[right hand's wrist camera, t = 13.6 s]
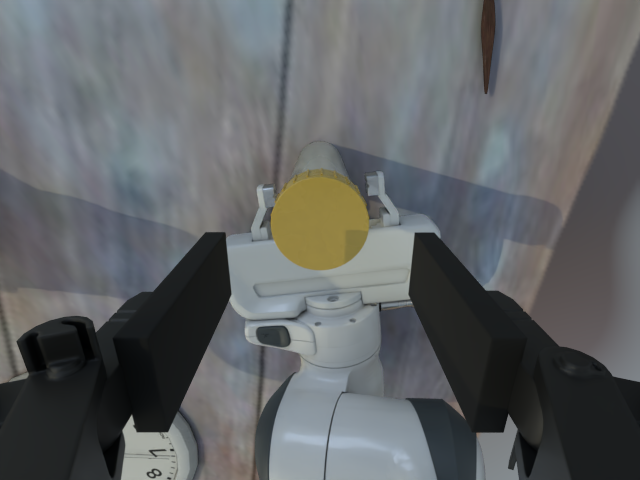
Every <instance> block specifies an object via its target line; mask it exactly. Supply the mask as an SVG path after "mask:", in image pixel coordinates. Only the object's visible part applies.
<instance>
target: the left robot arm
mask: <svg viewBox="0 0 640 480" xmlns="http://www.w3.org/2000/svg"><path fill="white" fill-rule="evenodd" d="M365 180H366V184H365V188H366V193H367V195H368V196H374V195H378V197H379V198H380V200H381V201H382V203H383V204H384V206H385V207H386V208H385V207H382V208H380V209H379V211H380V218H378V219H369V232H368V236H367V239H366V242H365V244H364V246H363V247H362V249H361V250H360V252H359V253H358V254H357V255H356V256H355V257H354V258H353V259H352V260H350V261H349V262H347V263H346V264H344V265H342V266H340V267H337V268H334V269H329V270H310V269H306V268H303V267H300V266H298V265H296V264H294V263H293V262H291V261H290V260H288V259H287V258H286V257H285V256H284V255H283V254H282V253H281V252H280V250H279V249H278V247H277V246H276V244H275V241H274V239H273V236H272V231H271V227H270V222H269V221H268V220H267V221H264V222H263V219H264V217H265V214H266V212H267V209H268V208H269V207H274V206H275V203H274V202H275V200H276V197H277V194H276V193H275V192H276V185H275V183H274V184H263V185H258V187H257V196H258V202H259V209H258V211H257V214H256V217H255V219H254V222H253V224H252V227H251V232H252V233H243V234H234V235H230V236H228V237H227V238H226V244H227V254H228V263H229V273H230V283H231V292H232V295H231V297H230V299H229V301H230V303H231V305H232V307H233V308H234V310H235V311H236V312H237V313H238V314H239V315H240V316H242V317H244V318H246V322H245V336H246V339H247V341H248V342H250V343H252V344H256V345H262V346H268V347H274V348H279V349H284V350H288V351H292V352H296V353H299V355H300V357H301V367H300V370H299V372H298V373H296V372H295V373H293V374H292V375H291V376H290V377H289V378H288V379H287V380H286V381H285V382H284V383H283V384H282V385H281V386H280V387H279V389H278V390H277V391H276V392H275V393H274V394H273V395H272V397H271V398H270V399H269V401H268V402H267V404H266V406H265V408H264V410H263V412H262V414H261V417H260V419H259V422H258V426H257V430H256V437H255V460H256V466H257V471H258V475H259V479H260V480H485V466H484V459H483V454H482V450H481V446H480V444H479V441H478V439H477V437H476V432H471V429H470V427H469V425H468V423H467V421H466V420H465V419H464V418H463V417H462V416H461V415H460V414H459V413H458V412H457V411H456V410H455V409H454V408H452V407H451V406H450V405H449V404H448V403H446V402H445V401H444V400H443V399H423V398H406V399H397V398H388V397H384V373H383V367H382V364H381V361H380V359H379V351H380V348H381V326H380V313H379V312H380V311H383V310H393V309H398V308H404V307H414V306H413V304H412V301H411V299H410V297H409V295H408V292H409V283H410V273H411V263H412V254H413V244H414V234H415V232H434V233H435V234H436V235H437V236H438V237H439V238H440V239H441V234H440V230H439V228H438V227H437V225H436V224H435V223H434V222H433V221H432V220H431V219H430V218H428V217H427V216H426V215H424V214H414V215H405V216H399V212H398V210H397V209H396V207H395V206H394V205H393V203H392V202H391V200H390V199H389V197H388V196H387V194H386V193H385V183H384V174H383V172H382V171H375V172H367V173H365Z"/></svg>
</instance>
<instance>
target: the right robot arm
mask: <svg viewBox="0 0 640 480" xmlns="http://www.w3.org/2000/svg"><path fill="white" fill-rule="evenodd" d="M231 295H232V292H231V283H230V273H229V263H228V254H227V244H226V234H225V232H206V233H205V234H204V235H203V236H202V237H201V238H200V239H199V241H198V242H197V243H196V244H195V245H194V246H193V247H192V248H191V250H190V251H189V252H188V253H187V254H186V255H185V256H184V258H183V259H182V260H181V261H180V262H179V263H178V264H177V265H176V267H175V268H174V269H173V270H172V271H171V272H170V273H169V275H168V276H167V277H166V278H165V279H164V280H163V281H162V282H161V284H160V285H159V286H158V287H157V288H156V289H155V290H154V292H141V293H140V294H138V295H136V296H134V297H133V298H131V299H129V300H127V301H126V302H125V303H124V304H123V305H122V306H121V307H120V309H119V310H118V311H117V313H115V314H114V315H113V316H112V317H111V318H110V319H109V322H106V323H105V324H104V325H103V326H102V327H101V328H100V329H99V330H98V331H97V332H95V329H94V325H93V321H92V320H90V319H89V318H87V317H81V316H70V317H63V318H59V319H55V320H51V321H48V322H46V323H43V324H41V325H38V326H36V327H34V328H33V329H31V330H29V331H28V332H26V333H24V334H23V335H22V336H21V337H20V338H19V339H18V340H17V344H18V347H19V349H20V352H21V355H22V357H23V360H24V363H25V365H26V368H27V371H28V373H29V375H28V377H27V378H26V379H22V380H17V381H12V382H7V383H2V384H0V480H121V476H122V468H123V461H124V453H125V446H126V445H125V438H124V434H123V429H124V427H125V425H126V424H127V422H128V420H129V419H130V417H131V415H132V417H133V421H134V425H135V429H136V432H169V429H170V427H171V425H172V423H173V421H174V418H175V416H176V414H177V412H178V410H179V408H180V405H181V403H182V401H183V399H184V397H185V395H186V392H187V390H188V388H189V386H190V384H191V382H192V379H193V377H194V375H195V373H196V371H197V369H198V366H199V364H200V362H201V360H202V358H203V356H204V353H205V351H206V349H207V347H208V345H209V343H210V340H211V338H212V336H213V334H214V332H215V330H216V327H217V325H218V323H219V321H220V319H221V317H222V314H223V312H224V310H225V308H226V306H227V304H228V301H229V299H230V297H231ZM408 295H409V297H410V299H411V301H412V304H413V306H414V308H415V310H416V312H417V314H418V317H419V319H420V321H421V323H422V325H423V327H424V330H425V332H426V334H427V336H428V338H429V340H430V343H431V345H432V347H433V349H434V351H435V353H436V356H437V358H438V360H439V362H440V364H441V366H442V369H443V371H444V373H445V375H446V377H447V379H448V382H449V384H450V386H451V388H452V390H453V392H454V395H455V397H456V399H457V401H458V403H459V405H460V408H461V410H462V412H463V414H464V416H465V418H466V421H467V423H468V425H469V427H470V429H471V432H504V428H505V425H506V421H507V417H508V414H509V415H510V417H511V418H512V420H513V422H514V423H515V425H516V427H517V428H518V431H517V434H516V438H515V441H514V445H513V449H512V452H511V456H510V460H509V466H508V469H512V470H513V469H514V466H515V463H516V461H517V467H518V475H519V480H640V382H636V381H631V380H626V379H622V378H617V377H613V376H612V374H611V373H610V372H609V371H608V369H607V368H606V367H605V366H604V365H603V364H602V363H600V362H599V361H597V360H596V359H595V358H593V357H591V356H589V355H587V354H585V353H583V352H580V351H577V350H574V349H570V348H567V347H559V346H558V345H557V344H556V343H555V342H554V341H553V340H552V339H551V338H550V337H549V335H547V333H546V332H545V331H544V330H543V329H542V328H541V327H540V326H539V325H538V324H537V323H536V322H535V321H534V320H531V317H530V316H529V315H528V314H527V313H526V312H523V309H522V308H521V307H520V306H519V305H518V304H517V303H516V302H515V301H514V300H513V299H511V298H510V297H508V296H506V295H504V294H503V293H501V292H499V291H486V290H485V289H484V288H483V287H482V286H481V285H480V284H479V282H478V281H477V280H476V279H475V278H474V277H473V276H472V275H471V273H470V272H469V271H468V270H467V269H466V268H465V267H464V265H463V264H462V263H461V262H460V261H459V260H458V259H457V258H456V256H455V255H454V254H453V253H452V252H451V251H450V250H449V248H448V247H447V246H446V245H445V244H444V243H443V242H442V241H441V239H440V238H439V237H438V236H437V235H436V234H435V233H434V232H415V234H414V244H413V254H412V263H411V273H410V283H409V292H408Z"/></svg>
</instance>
